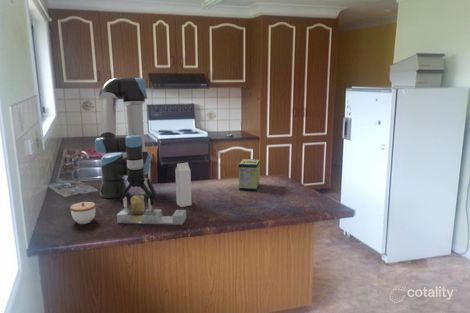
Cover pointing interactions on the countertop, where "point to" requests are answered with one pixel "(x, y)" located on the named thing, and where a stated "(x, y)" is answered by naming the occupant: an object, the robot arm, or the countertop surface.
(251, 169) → the protein box
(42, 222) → the countertop surface
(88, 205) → the lidded jar
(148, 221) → the rail
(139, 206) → the nut block
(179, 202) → the milk
